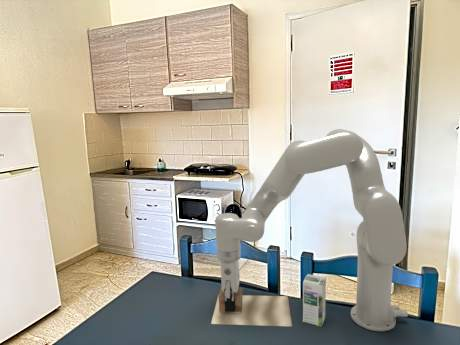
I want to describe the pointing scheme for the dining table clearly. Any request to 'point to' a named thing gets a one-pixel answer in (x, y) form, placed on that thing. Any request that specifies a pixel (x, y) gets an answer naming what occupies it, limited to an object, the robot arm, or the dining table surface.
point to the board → (257, 312)
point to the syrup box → (314, 299)
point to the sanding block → (237, 301)
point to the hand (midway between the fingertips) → (231, 305)
